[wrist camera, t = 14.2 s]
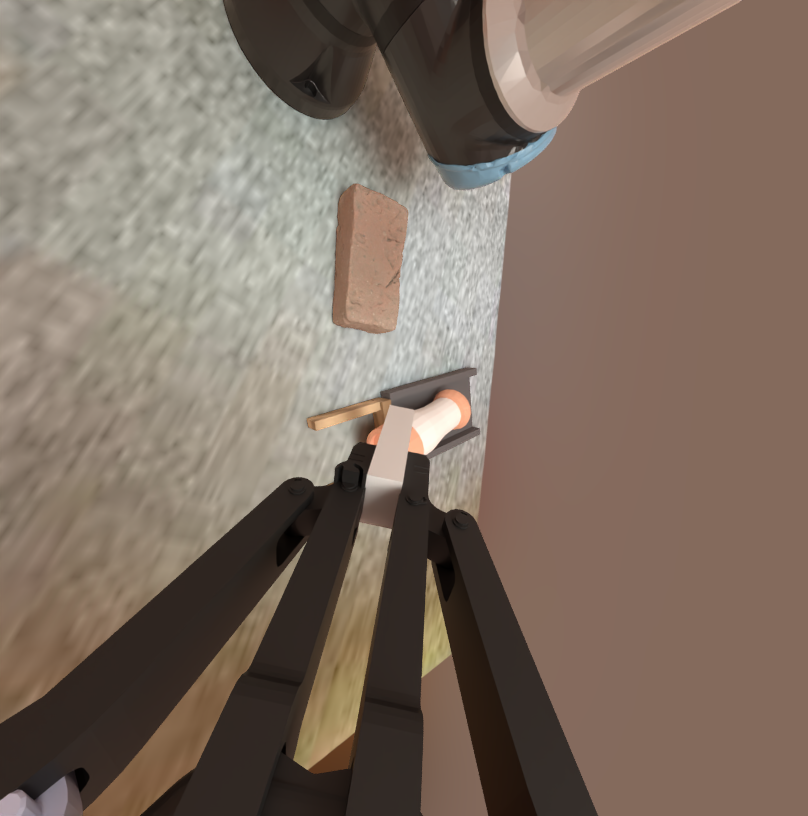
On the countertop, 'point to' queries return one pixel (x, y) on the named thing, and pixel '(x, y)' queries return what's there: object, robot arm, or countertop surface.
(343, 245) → the brick
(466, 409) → the salt shaker
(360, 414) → the oak cradle
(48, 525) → the countertop surface
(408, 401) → the grey tray
